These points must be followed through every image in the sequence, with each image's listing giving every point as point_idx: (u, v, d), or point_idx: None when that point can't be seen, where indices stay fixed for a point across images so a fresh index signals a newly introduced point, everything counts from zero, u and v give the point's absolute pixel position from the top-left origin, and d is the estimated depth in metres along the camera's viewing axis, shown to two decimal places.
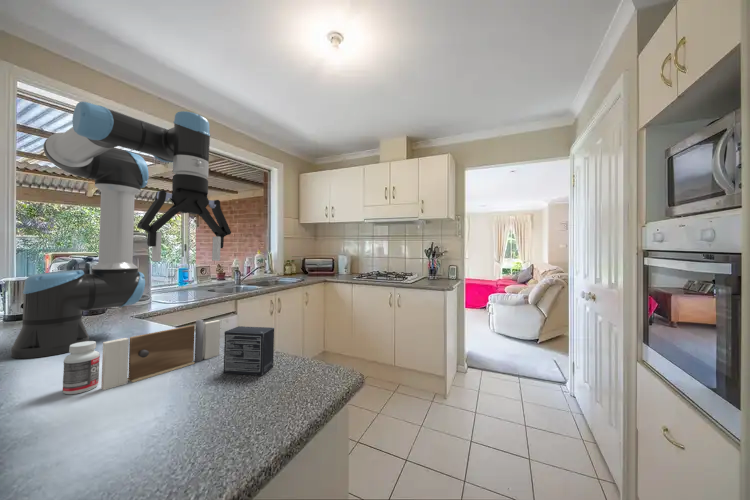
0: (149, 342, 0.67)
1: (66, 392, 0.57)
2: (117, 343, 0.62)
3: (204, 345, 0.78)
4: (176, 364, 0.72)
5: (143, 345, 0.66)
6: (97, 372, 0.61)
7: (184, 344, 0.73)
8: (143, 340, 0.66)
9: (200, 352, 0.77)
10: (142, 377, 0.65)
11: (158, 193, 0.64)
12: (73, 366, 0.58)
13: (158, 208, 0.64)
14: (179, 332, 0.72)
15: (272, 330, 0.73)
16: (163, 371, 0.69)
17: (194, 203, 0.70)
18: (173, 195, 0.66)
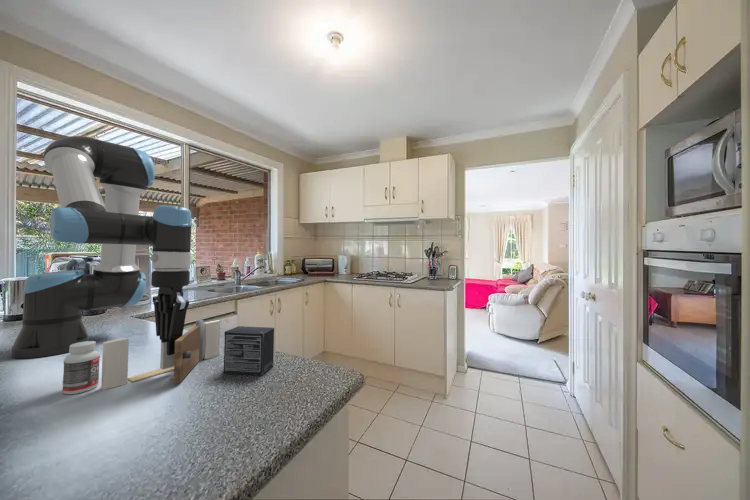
0: (186, 344, 0.66)
1: (66, 392, 0.57)
2: (117, 343, 0.62)
3: (204, 345, 0.78)
4: (194, 364, 0.72)
5: (184, 347, 0.65)
6: (97, 372, 0.61)
7: (196, 344, 0.73)
8: (184, 342, 0.65)
9: (200, 352, 0.77)
10: (142, 377, 0.65)
11: None
12: (73, 366, 0.58)
13: (156, 313, 0.69)
14: (195, 332, 0.72)
15: (272, 330, 0.73)
16: (163, 371, 0.69)
17: None
18: None
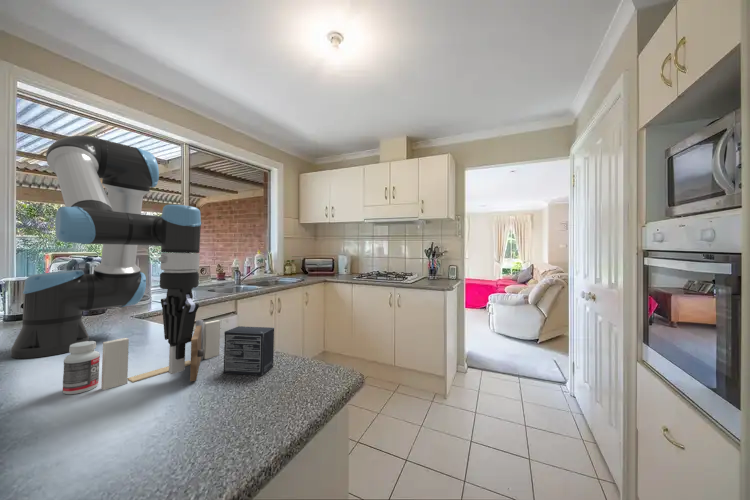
0: (198, 342, 0.67)
1: (66, 392, 0.57)
2: (117, 343, 0.62)
3: (204, 345, 0.78)
4: (199, 364, 0.72)
5: None
6: (97, 372, 0.61)
7: (200, 344, 0.74)
8: (198, 341, 0.66)
9: None
10: (142, 377, 0.65)
11: None
12: (73, 366, 0.58)
13: (164, 316, 0.66)
14: (200, 332, 0.73)
15: (272, 330, 0.73)
16: (163, 371, 0.69)
17: None
18: None
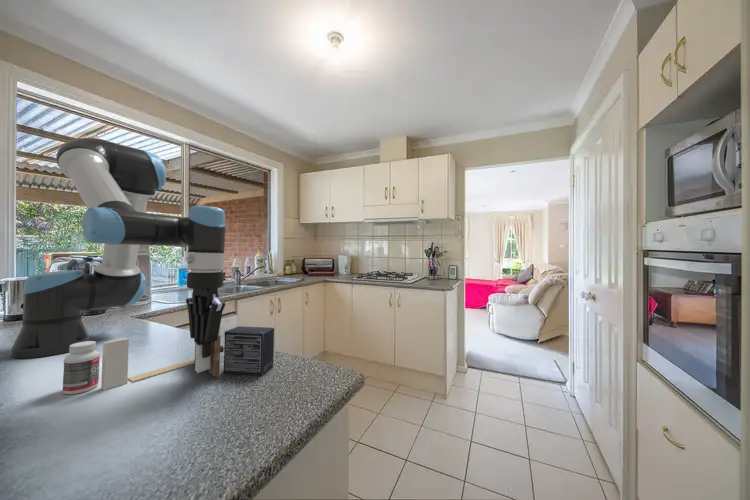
0: None
1: (66, 392, 0.57)
2: (117, 343, 0.62)
3: None
4: None
5: None
6: (97, 372, 0.61)
7: None
8: None
9: None
10: (142, 377, 0.65)
11: None
12: (73, 366, 0.58)
13: (190, 315, 0.68)
14: None
15: (272, 330, 0.73)
16: (163, 371, 0.69)
17: None
18: None
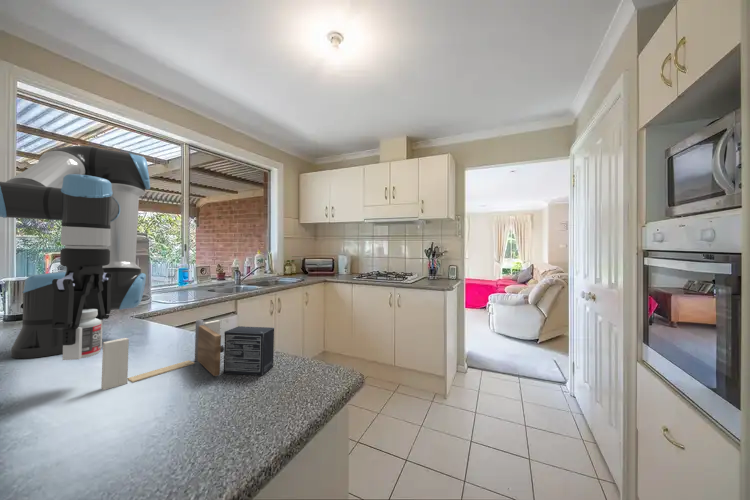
0: None
1: None
2: (117, 343, 0.62)
3: None
4: None
5: None
6: (99, 339, 0.62)
7: None
8: None
9: None
10: (142, 377, 0.65)
11: None
12: None
13: None
14: None
15: (272, 330, 0.73)
16: (163, 371, 0.69)
17: None
18: None
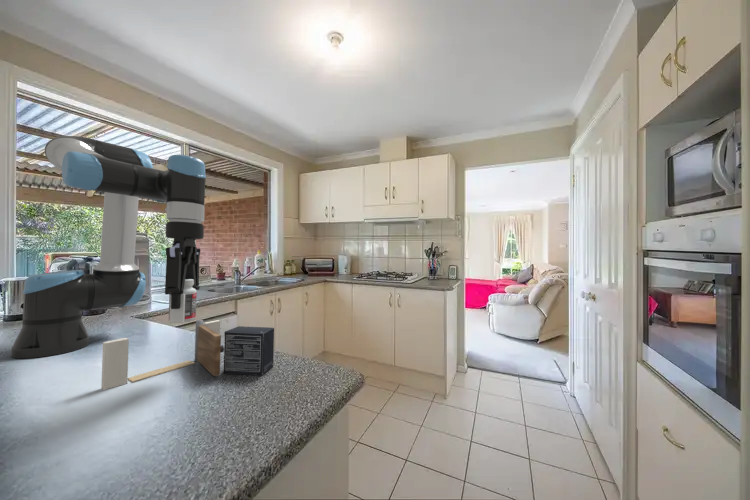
0: None
1: None
2: (117, 343, 0.62)
3: None
4: None
5: None
6: (195, 306, 0.67)
7: None
8: None
9: None
10: (142, 377, 0.65)
11: None
12: None
13: None
14: None
15: (272, 330, 0.73)
16: (163, 371, 0.69)
17: None
18: None
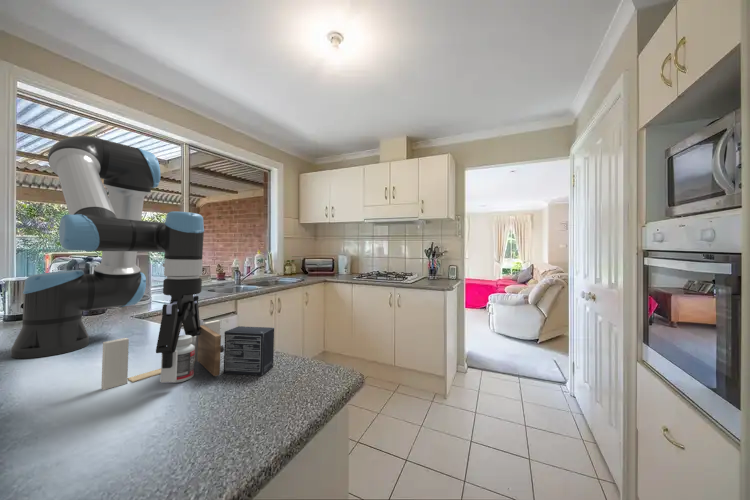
0: None
1: None
2: (117, 343, 0.62)
3: None
4: None
5: None
6: (193, 363, 0.67)
7: None
8: None
9: None
10: (142, 377, 0.65)
11: None
12: (177, 358, 0.64)
13: None
14: None
15: (272, 330, 0.73)
16: None
17: None
18: None
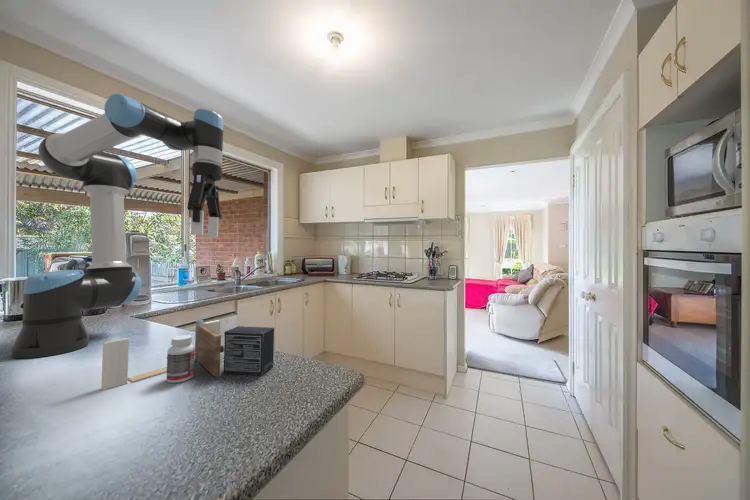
0: None
1: (171, 381, 0.63)
2: (117, 343, 0.62)
3: None
4: None
5: None
6: (193, 363, 0.67)
7: None
8: None
9: None
10: (142, 377, 0.65)
11: None
12: (177, 358, 0.64)
13: None
14: None
15: (272, 330, 0.73)
16: (163, 371, 0.69)
17: None
18: None
